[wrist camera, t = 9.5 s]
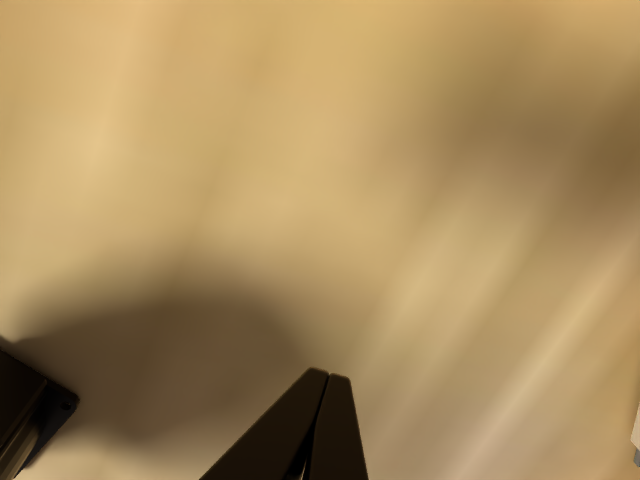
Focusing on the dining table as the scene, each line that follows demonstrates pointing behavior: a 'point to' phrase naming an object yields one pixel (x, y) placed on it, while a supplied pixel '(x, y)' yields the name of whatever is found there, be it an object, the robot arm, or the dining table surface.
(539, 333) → the dining table surface
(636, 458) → the mat
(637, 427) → the walnut block
